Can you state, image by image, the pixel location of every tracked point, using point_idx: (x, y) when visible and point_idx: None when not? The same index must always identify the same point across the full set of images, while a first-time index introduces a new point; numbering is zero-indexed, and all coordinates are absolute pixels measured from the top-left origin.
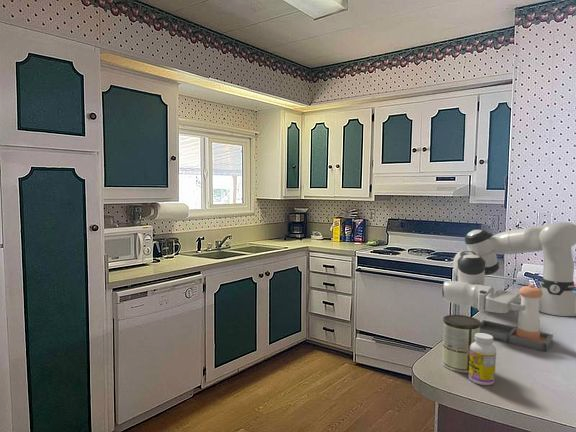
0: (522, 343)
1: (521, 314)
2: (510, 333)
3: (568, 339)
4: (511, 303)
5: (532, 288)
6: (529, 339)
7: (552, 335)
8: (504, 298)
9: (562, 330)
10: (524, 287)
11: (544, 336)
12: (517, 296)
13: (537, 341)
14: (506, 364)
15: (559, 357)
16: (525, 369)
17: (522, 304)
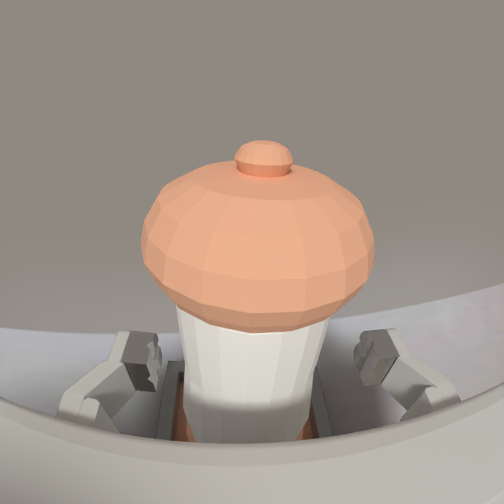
0: None
1: (302, 413)
2: None
3: (114, 340)
4: (439, 397)
5: (311, 171)
6: (316, 414)
7: (177, 362)
8: (427, 480)
9: (30, 349)
10: (326, 204)
11: (178, 391)
12: (77, 425)
13: (312, 387)
14: None
15: (325, 342)
16: (474, 362)
17: (310, 368)
